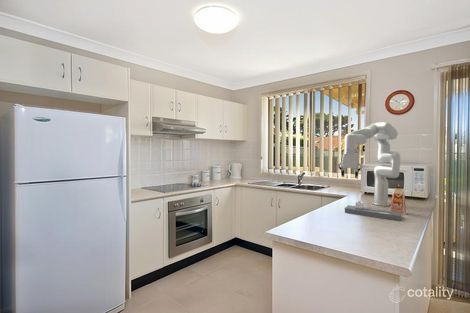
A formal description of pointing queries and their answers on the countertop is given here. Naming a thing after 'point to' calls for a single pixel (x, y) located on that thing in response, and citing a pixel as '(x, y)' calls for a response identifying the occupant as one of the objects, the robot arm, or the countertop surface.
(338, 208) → the countertop surface
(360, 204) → the fader
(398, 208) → the milk carton
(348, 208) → the bar
